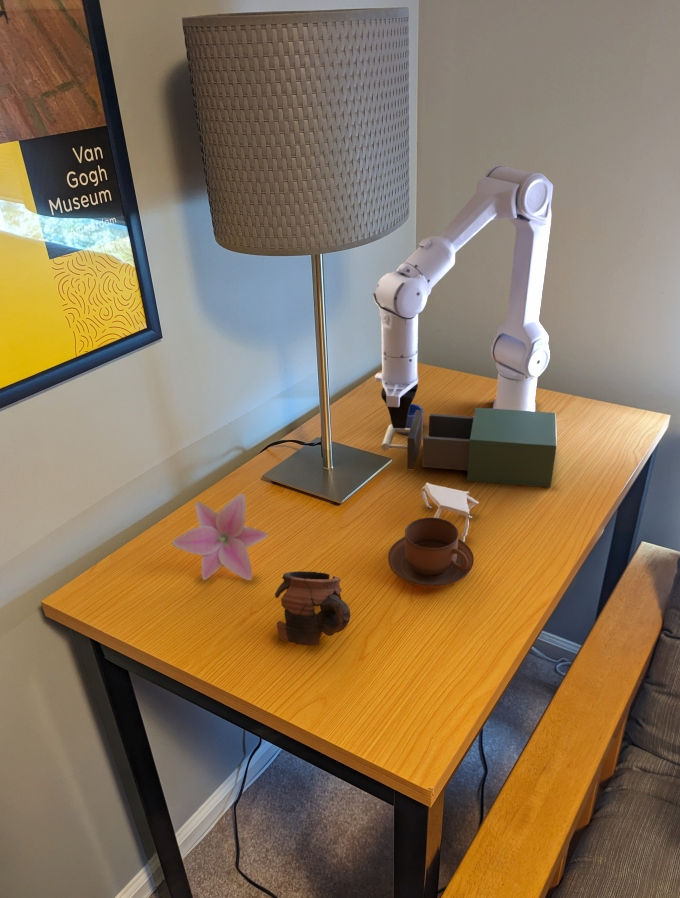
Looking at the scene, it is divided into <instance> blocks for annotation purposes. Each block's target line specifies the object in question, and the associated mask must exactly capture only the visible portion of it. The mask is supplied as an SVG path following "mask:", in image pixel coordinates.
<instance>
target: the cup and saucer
mask: <svg viewBox="0 0 680 898" xmlns="http://www.w3.org/2000/svg"><path fill="white" fill-rule="evenodd" d="M459 536H460V535H459V530H458V528H457V527H456V525H455V524H453V523H452V522H450V521H449V520H446V519H443V518H440V517H438V518H434V517H421V518H418V519H415V520H413V521H412V522H410V523H409V524H408V525H406V528H405V529H404V537H401V538H399V539H398V540H396V541H395V543H393V545H391V547H390V549H389V551H388V554H387V562H388V565H389V567H390V569H391V571H392V572H393V573H394V574H395V575H396V576H397V577H398V578H399V579H401V580H403V581H404V582H406V583H408V584H411V585H414V586H416V587H417V586H418V587H421V588H443V587H447V586H450V585H453V584H455V583H458V582H460V581H462V580H463V579H465V578H466V577H467V576H468V575H469V574H470V572H471V571H472V569H473V566H474V562H475V556H474V553H473V551H472V549H471V548H470V546H469V545H468V544H467V543H465V541H464V542H463V541H462V539H459Z"/></svg>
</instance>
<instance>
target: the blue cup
mask: <svg viewBox="0 0 680 898" xmlns="http://www.w3.org/2000/svg"><path fill="white" fill-rule="evenodd" d="M416 410H423V417H424V414H425V413H424V412H425V411H424V407H423V406H421V405H419V404H416V403H411V406H410V411H409V416H408V421H407V424H406V427H405V428H411V425H412V422H413V419H414V415H415V412H416ZM422 429H424V423H423V424H422ZM398 433H399V434H401V435H405V436H406V435H407V436H408V435H409V433H407V432H398Z"/></svg>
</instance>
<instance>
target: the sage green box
mask: <svg viewBox="0 0 680 898" xmlns="http://www.w3.org/2000/svg"><path fill="white" fill-rule="evenodd" d="M473 417H474V418H473V424H472V430H471V436H470V446H469V461H468V470H467V475H466V476H467V478H466V481H468V482H477V483H490V484H501V485H502V484H503V485H515V486H528V487H541V488H551V486H552V480H553V474H554V473H553V472H554V467H555V461H556V460H555V459H556V453H557V445H558V444H557V414H556V412H549V411H536V410H535V411H520V410H505V409H493V408H490V407H488V408H487V407H474V414H473Z"/></svg>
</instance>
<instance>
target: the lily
mask: <svg viewBox="0 0 680 898" xmlns="http://www.w3.org/2000/svg"><path fill="white" fill-rule="evenodd" d="M246 510H247V499H246V495H245V494H244V493H239V494H238V495H236V496H235V497H233V498H232V499H231V500H230V501H229V502H228V503H226V504H225V505H224V506H223V507H222V508H221V509H220V510H219V512H217V511H215V510H214V509H213V508H211V507H210V506H208V505H206V504H204V503H202V502H201V501H196V502H195V512H196V516H197V522H198V524H199V526H197V527H194V528H192V529H190V530H188V531H186V532H184V533H182V534H180V535H179V536H177V537H175V538H174V539H173V540H172V541H171V545H172V547H174V548H177V549H178V550H181V551H183V552H188V553H191V554H194V555H198V556H202V558H201V578H202V580H203V581H205V580H207V579H209V578H210V577H212V576H213V575H214V574H215V573H216V572H218V570H220V568H221V567H222V566H224V567H225V568H226V569H227V570H229V571H230V572H232V573H233V574H235V575H236V576H238V577H240V578H242V579H243V580H247V581H252V579H253V568H252V564H251V560H250V555H249V551H248V548H250V547H252V546H254V545H256V544H258V543H260V542H263V540H265V539H266V538H268V536H269V534H268V533H267V532H265V531H263V530H260V529H258V528H254V527H251V526H246V516H247V515H246V514H247V513H246V512H247V511H246Z"/></svg>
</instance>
